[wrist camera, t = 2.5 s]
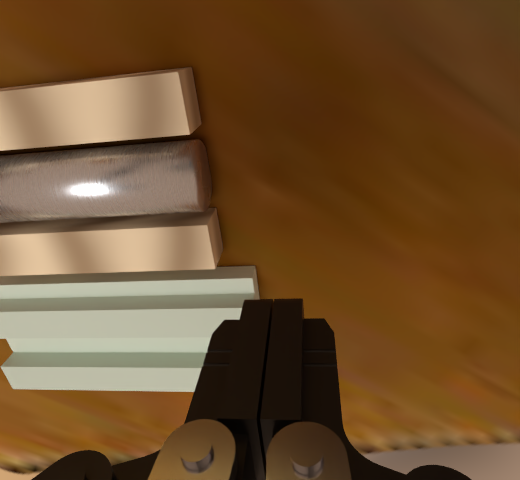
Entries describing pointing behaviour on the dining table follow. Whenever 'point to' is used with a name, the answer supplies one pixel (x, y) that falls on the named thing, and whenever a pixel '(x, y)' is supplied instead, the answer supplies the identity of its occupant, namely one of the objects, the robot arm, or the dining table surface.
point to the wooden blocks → (104, 130)
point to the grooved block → (117, 326)
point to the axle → (105, 182)
